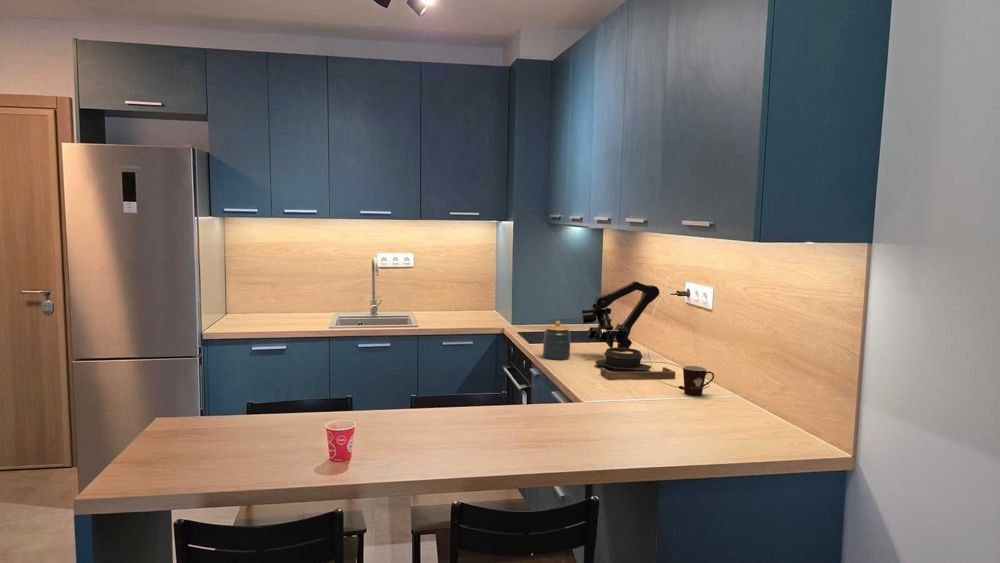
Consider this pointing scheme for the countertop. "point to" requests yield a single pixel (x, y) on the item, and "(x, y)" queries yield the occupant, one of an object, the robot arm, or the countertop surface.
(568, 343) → the canister
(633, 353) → the casserole
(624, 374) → the stop frame
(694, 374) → the coffee mug
